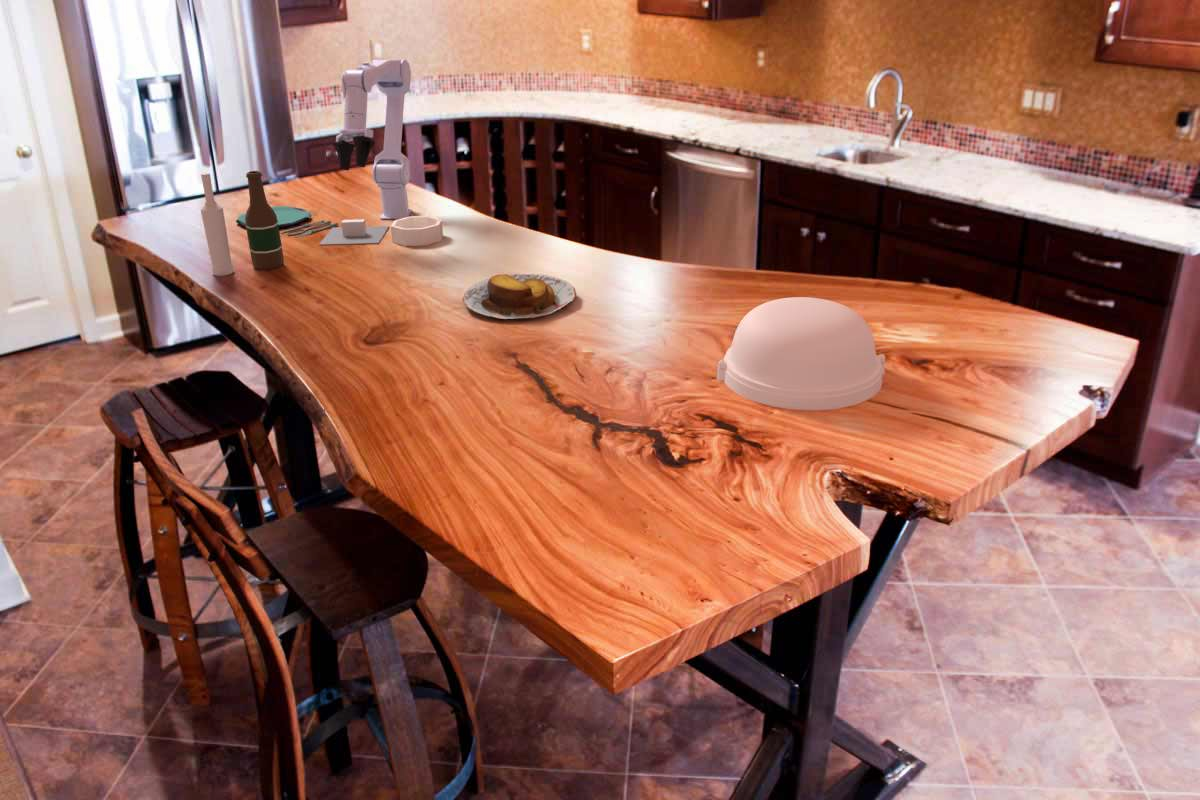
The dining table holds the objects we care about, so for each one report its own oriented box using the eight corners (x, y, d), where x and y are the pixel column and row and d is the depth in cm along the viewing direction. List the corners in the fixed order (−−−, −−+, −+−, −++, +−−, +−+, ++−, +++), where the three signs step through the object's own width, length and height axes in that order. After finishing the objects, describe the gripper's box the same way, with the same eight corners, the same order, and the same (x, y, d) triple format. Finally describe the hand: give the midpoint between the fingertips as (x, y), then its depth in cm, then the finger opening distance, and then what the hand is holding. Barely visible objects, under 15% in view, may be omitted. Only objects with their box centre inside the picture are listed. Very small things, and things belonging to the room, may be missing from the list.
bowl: (398, 232, 294) (396, 216, 292) (444, 231, 294) (443, 215, 292) (390, 246, 282) (388, 229, 280) (438, 245, 282) (437, 228, 280)
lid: (332, 230, 299) (330, 213, 297) (389, 229, 299) (387, 212, 297) (319, 247, 285) (317, 229, 282) (378, 246, 284) (376, 228, 282)
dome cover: (863, 344, 214) (869, 278, 208) (908, 407, 187) (917, 334, 181) (706, 349, 213) (708, 283, 207) (729, 414, 186) (731, 340, 180)
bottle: (237, 269, 266) (220, 171, 256) (229, 276, 262) (211, 176, 251) (217, 269, 267) (199, 171, 256) (209, 276, 262) (190, 176, 252)
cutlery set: (283, 209, 320) (282, 201, 319) (345, 227, 303) (344, 219, 302) (225, 225, 306) (224, 217, 305) (287, 244, 289) (286, 236, 288)
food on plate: (593, 293, 245) (592, 266, 243) (545, 331, 225) (543, 302, 222) (497, 280, 255) (495, 254, 252) (443, 315, 234) (440, 287, 232)
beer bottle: (252, 263, 271) (236, 170, 261) (283, 259, 273) (269, 167, 263) (253, 272, 264) (236, 176, 254) (285, 268, 267) (270, 174, 256)
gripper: (327, 116, 279) (324, 168, 279) (357, 108, 269) (354, 162, 269) (350, 122, 284) (347, 172, 284) (381, 114, 274) (378, 167, 274)
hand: (352, 168), depth 277 cm, fingers open, 7 cm apart
